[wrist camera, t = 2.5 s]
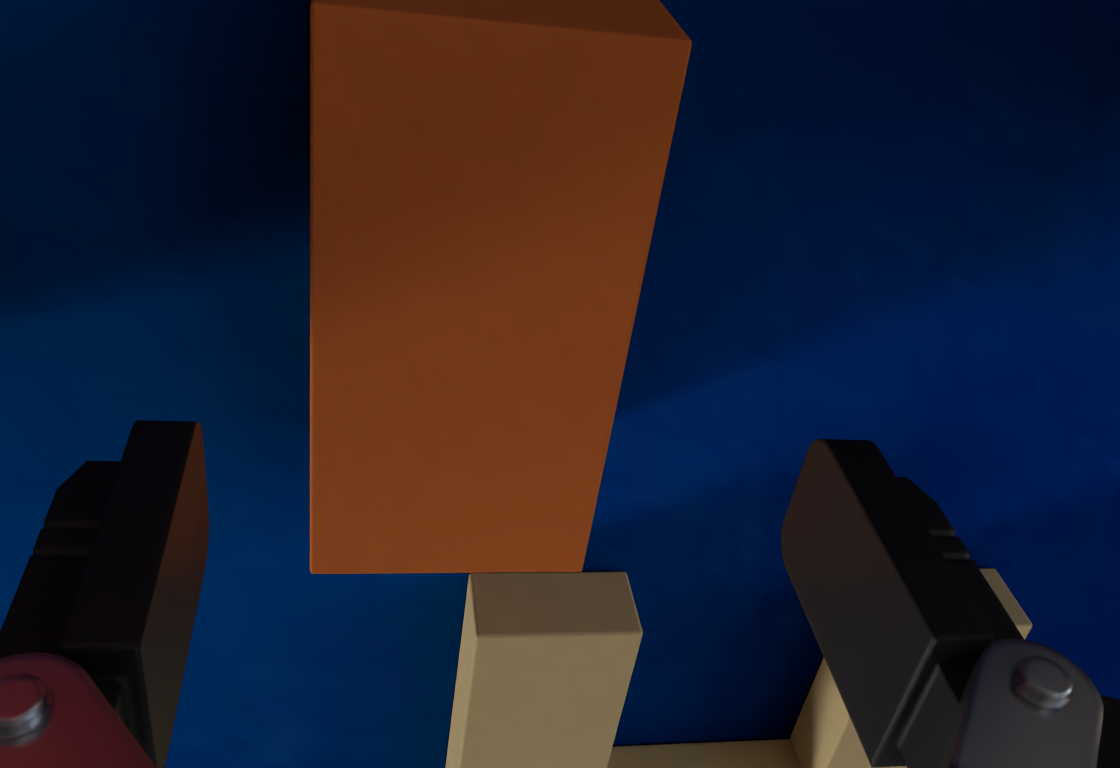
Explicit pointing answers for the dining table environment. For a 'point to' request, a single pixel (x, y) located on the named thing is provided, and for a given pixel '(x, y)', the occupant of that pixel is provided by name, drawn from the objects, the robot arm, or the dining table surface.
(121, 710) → the robot arm
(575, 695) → the notch pad
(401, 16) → the pad
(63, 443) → the dining table surface
